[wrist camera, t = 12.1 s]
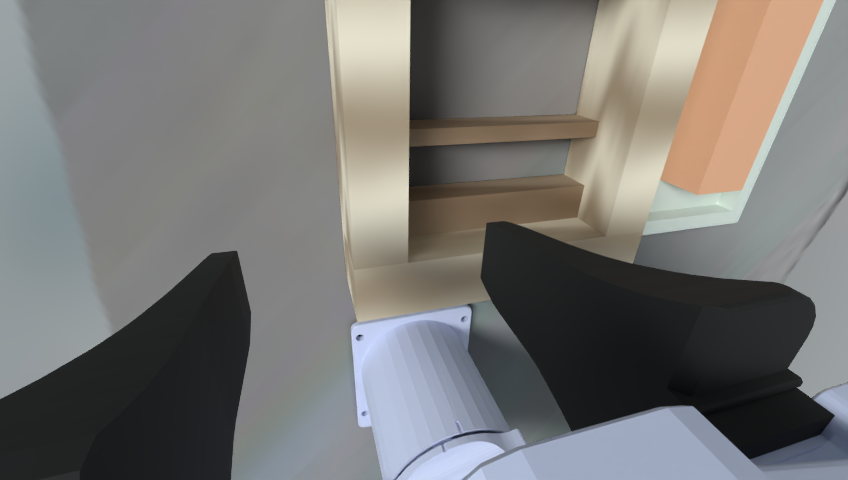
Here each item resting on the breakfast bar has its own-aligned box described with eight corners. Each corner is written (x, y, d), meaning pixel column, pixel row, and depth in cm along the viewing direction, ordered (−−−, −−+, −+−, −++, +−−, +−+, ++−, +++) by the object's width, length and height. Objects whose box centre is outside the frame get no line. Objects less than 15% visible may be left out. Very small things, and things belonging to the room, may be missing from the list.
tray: (714, 212, 30) (737, 222, 28) (590, 227, 27) (608, 240, 25) (820, -49, 22) (859, -54, 21) (664, -67, 19) (696, -74, 18)
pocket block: (581, 241, 27) (628, 276, 23) (346, 273, 23) (357, 322, 19) (666, -107, 19) (763, -141, 15) (312, -160, 14) (320, -226, 10)
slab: (699, 174, 27) (741, 190, 24) (657, 178, 26) (697, 194, 23) (763, 1, 22) (824, -2, 19) (715, -3, 21) (772, -6, 19)
